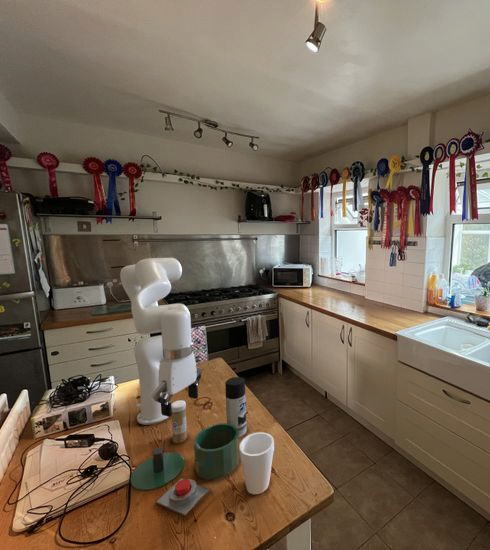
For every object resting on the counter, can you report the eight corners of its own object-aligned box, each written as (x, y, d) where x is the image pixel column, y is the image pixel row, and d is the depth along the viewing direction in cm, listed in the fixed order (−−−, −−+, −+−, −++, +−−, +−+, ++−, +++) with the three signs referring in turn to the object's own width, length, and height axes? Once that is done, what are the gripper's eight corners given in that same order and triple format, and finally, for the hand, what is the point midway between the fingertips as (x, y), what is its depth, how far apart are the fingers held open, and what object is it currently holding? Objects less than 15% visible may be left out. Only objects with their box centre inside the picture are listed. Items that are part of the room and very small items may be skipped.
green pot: (185, 473, 87) (184, 444, 85) (216, 445, 98) (215, 419, 97) (219, 486, 82) (218, 456, 81) (247, 455, 94) (246, 428, 93)
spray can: (240, 440, 101) (239, 386, 98) (223, 437, 102) (221, 384, 99) (249, 428, 107) (248, 377, 105) (233, 425, 109) (231, 375, 106)
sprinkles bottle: (169, 444, 98) (167, 407, 97) (176, 435, 103) (174, 399, 101) (183, 444, 99) (181, 407, 97) (189, 434, 103) (187, 399, 101)
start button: (172, 493, 77) (171, 487, 77) (183, 483, 80) (183, 477, 80) (182, 498, 76) (182, 492, 75) (193, 487, 79) (193, 481, 79)
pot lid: (119, 483, 83) (117, 461, 82) (162, 450, 95) (161, 431, 94) (154, 499, 78) (152, 475, 77) (194, 462, 91) (193, 441, 90)
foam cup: (256, 505, 77) (255, 461, 75) (233, 489, 81) (232, 447, 80) (281, 480, 85) (280, 439, 83) (258, 467, 89) (258, 428, 88)
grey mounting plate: (156, 505, 76) (155, 495, 76) (181, 481, 84) (181, 472, 83) (185, 518, 73) (184, 508, 72) (209, 492, 80) (208, 483, 80)
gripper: (190, 340, 94) (193, 389, 96) (140, 361, 78) (144, 420, 80) (209, 343, 92) (211, 393, 94) (161, 365, 75) (165, 426, 78)
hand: (180, 406), depth 87 cm, fingers open, 9 cm apart
